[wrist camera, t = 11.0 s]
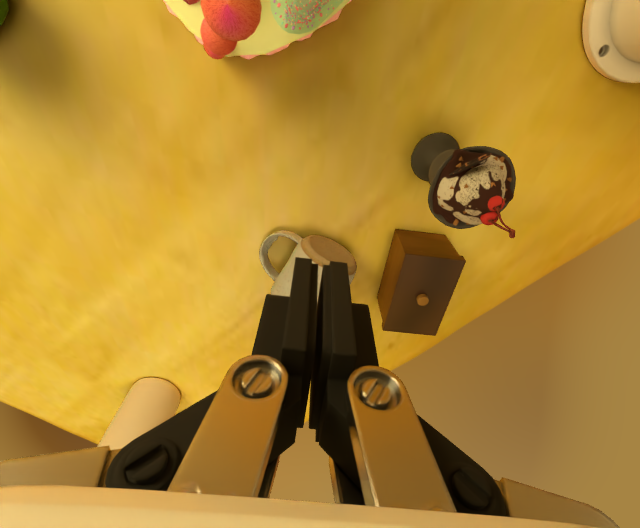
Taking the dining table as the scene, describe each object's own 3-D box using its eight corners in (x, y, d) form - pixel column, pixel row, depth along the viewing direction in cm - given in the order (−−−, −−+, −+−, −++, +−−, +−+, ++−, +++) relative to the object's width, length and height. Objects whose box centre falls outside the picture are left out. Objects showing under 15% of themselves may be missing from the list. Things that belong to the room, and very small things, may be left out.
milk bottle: (125, 375, 53) (31, 529, 35) (175, 375, 52) (104, 528, 35) (140, 407, 57) (62, 559, 39) (186, 407, 56) (128, 558, 39)
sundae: (450, 195, 37) (518, 267, 24) (393, 179, 36) (432, 246, 24) (480, 134, 34) (576, 180, 21) (418, 115, 33) (479, 152, 20)
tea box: (375, 298, 45) (383, 334, 39) (394, 227, 39) (406, 256, 34) (422, 303, 45) (437, 339, 39) (447, 233, 40) (468, 264, 34)
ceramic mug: (359, 247, 41) (365, 283, 34) (328, 296, 44) (328, 337, 38) (276, 210, 38) (266, 241, 32) (251, 265, 42) (237, 303, 36)
